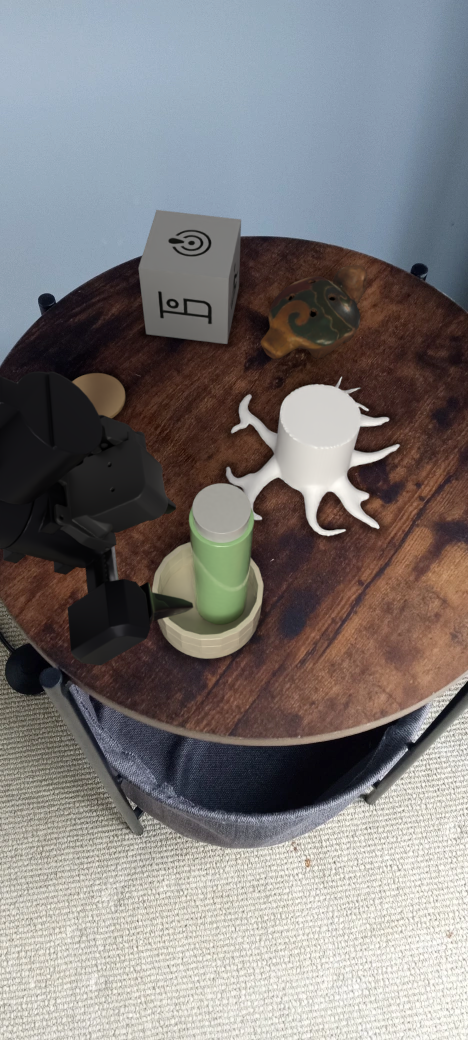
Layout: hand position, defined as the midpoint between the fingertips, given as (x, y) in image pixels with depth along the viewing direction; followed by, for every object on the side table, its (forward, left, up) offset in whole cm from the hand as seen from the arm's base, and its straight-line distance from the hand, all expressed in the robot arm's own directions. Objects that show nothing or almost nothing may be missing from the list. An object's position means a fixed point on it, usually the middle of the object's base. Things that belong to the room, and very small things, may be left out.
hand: (181, 556), depth 59 cm
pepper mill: (+3, 0, -10) cm, 11 cm away
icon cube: (+9, +40, -12) cm, 42 cm away
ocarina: (+22, +32, -12) cm, 40 cm away
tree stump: (+17, +15, -12) cm, 25 cm away
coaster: (-5, +28, -12) cm, 31 cm away
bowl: (+2, 0, -12) cm, 12 cm away
